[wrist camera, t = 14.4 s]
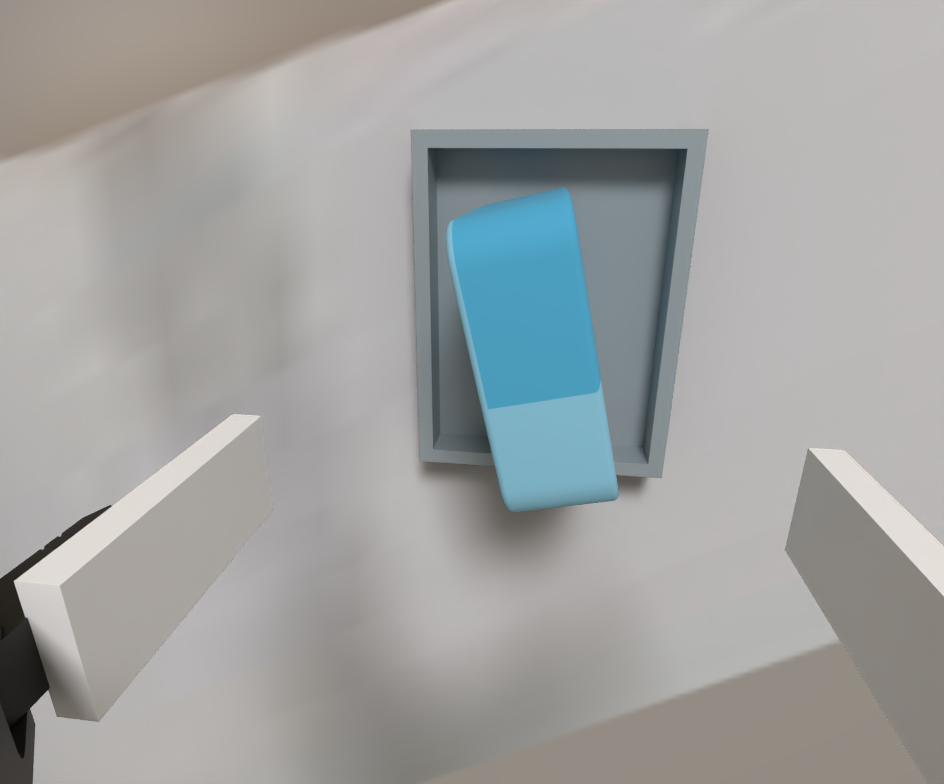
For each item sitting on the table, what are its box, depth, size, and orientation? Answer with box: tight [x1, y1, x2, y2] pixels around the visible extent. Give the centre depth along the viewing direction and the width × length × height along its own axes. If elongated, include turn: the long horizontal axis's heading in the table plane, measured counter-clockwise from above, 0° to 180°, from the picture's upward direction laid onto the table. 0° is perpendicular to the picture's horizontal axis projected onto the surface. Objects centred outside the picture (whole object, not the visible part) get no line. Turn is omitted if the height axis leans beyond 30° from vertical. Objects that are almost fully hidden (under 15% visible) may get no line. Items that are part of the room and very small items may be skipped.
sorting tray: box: [411, 129, 709, 478], centre depth 32 cm, size 14×18×3 cm
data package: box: [446, 188, 619, 512], centre depth 27 cm, size 12×4×12 cm, turn 12°
